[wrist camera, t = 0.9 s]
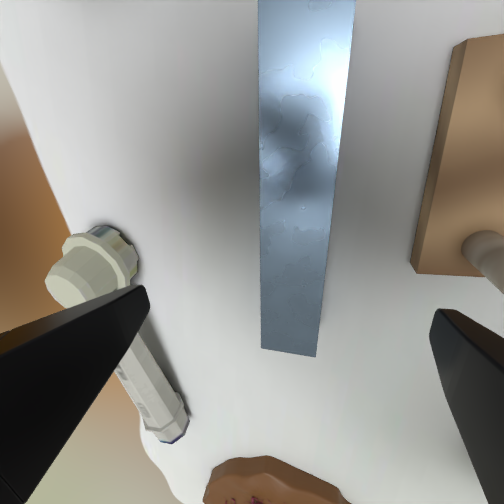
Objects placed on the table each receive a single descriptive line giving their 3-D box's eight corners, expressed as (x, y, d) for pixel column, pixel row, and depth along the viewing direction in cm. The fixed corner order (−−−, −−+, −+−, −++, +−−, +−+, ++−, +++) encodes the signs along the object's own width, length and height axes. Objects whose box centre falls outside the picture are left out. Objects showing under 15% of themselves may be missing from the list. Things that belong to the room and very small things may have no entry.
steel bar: (316, 321, 22) (315, 357, 19) (270, 314, 23) (261, 348, 20) (349, 19, 14) (357, -17, 10) (273, 27, 15) (257, -3, 11)
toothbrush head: (145, 442, 31) (-1, 269, 18) (171, 387, 36) (74, 224, 23) (185, 450, 29) (57, 267, 16) (206, 391, 35) (123, 219, 22)
